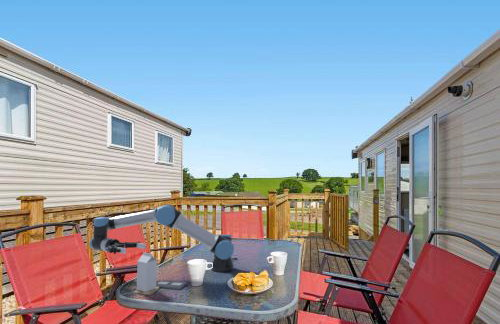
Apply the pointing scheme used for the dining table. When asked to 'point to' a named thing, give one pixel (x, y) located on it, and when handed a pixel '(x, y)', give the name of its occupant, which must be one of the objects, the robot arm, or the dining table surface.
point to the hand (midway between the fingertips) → (135, 248)
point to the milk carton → (146, 272)
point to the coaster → (145, 292)
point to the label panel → (170, 285)
